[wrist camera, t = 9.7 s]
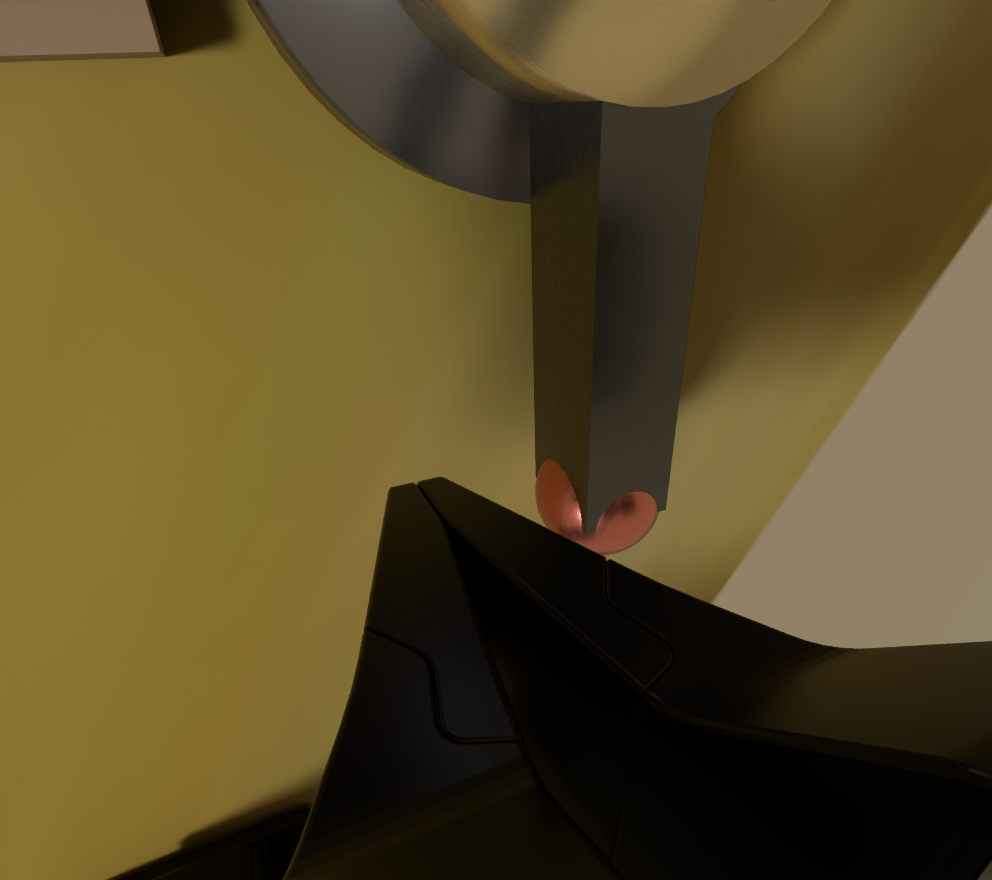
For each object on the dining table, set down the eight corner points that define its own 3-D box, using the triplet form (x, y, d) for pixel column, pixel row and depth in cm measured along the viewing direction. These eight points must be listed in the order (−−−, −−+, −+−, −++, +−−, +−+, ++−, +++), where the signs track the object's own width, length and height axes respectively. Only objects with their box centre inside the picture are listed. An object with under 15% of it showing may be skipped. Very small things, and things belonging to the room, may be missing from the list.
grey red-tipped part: (229, -795, 5) (238, -1437, 3) (833, -563, 7) (1085, -838, 5) (426, 550, 13) (466, 635, 11) (687, 471, 15) (763, 529, 13)
